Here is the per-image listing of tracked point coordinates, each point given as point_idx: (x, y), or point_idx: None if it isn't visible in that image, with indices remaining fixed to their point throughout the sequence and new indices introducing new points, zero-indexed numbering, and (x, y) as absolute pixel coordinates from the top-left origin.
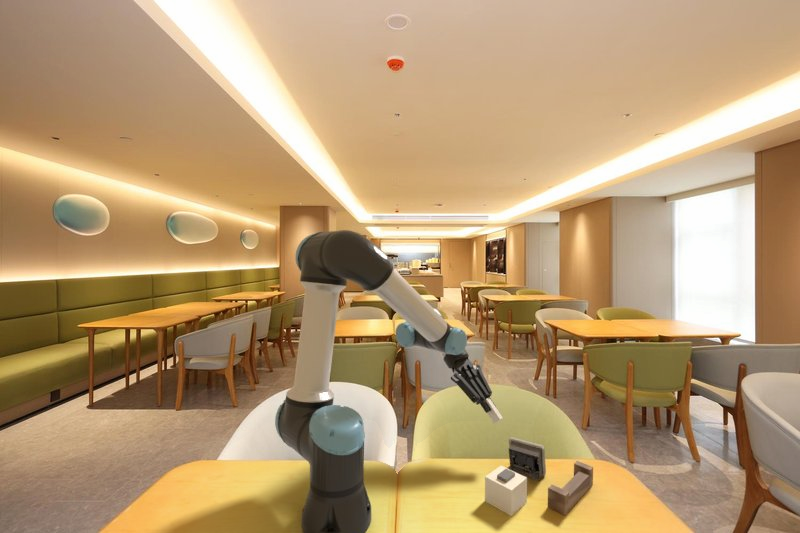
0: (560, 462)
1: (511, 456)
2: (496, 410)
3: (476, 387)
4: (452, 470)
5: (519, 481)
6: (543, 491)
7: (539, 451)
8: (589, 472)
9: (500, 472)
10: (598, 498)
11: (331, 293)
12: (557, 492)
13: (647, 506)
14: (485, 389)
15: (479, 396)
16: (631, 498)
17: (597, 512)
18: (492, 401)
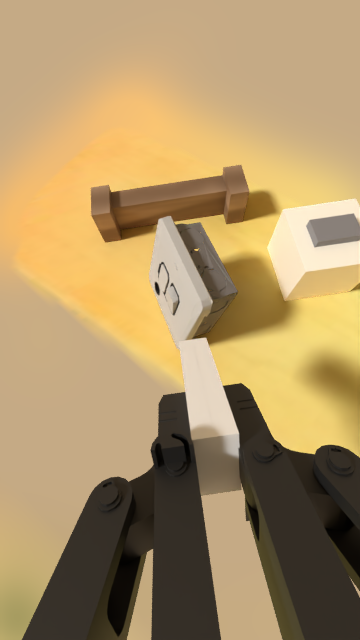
0: (71, 290)
1: (206, 318)
2: (194, 365)
3: (336, 618)
4: (356, 431)
5: (312, 208)
6: None
7: (180, 225)
8: (110, 191)
9: (331, 252)
10: None
11: None
12: (244, 177)
13: (98, 153)
14: (162, 540)
15: (319, 469)
16: (95, 171)
17: (179, 178)
18: (160, 427)
